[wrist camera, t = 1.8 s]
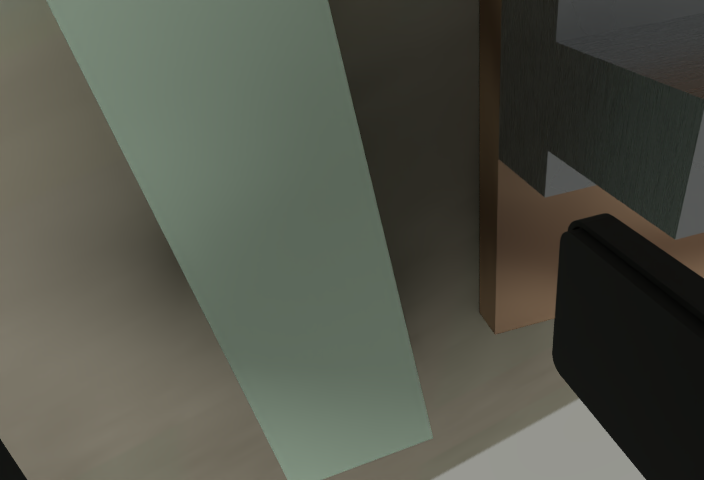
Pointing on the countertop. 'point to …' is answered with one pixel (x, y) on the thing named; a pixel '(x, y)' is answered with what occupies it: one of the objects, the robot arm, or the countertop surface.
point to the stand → (585, 137)
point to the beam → (264, 210)
